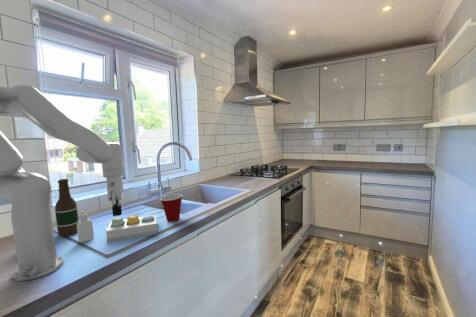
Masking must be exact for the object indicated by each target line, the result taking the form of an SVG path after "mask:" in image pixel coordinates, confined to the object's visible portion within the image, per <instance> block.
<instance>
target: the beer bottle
mask: <svg viewBox="0 0 476 317" xmlns="http://www.w3.org/2000/svg"><path fill="white" fill-rule="evenodd" d="M57 183H58V200H57V202H56V203H55V208H54V213H55V221H56V228H57V235H58V236H59V237H63V238H64V237H70V236H73V235H76V234H77V223H78V222H80V221H79V214H78V213H79V212H78V206H77V202H76V200H75V199H74V198H73V197H72V196H71V195H72V194H71V192H70V191H71V190H70V187H69V179H68V178H63V179H62V178H61V179H59V180H58V181H57Z"/></svg>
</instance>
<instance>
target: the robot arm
mask: <svg viewBox="0 0 476 317" xmlns="http://www.w3.org/2000/svg"><path fill="white" fill-rule="evenodd" d="M0 115H16V116H17V115H22V116H23V117H24V118H25V119H28V120H29V121H30V122H32V123H33V124H34V125H35V126H37V127H38V128H39V129H41V131H43V132H44V133H46V134H47V135H49V136H50V137H52V138H55V139H57V140H60V141H63V142H67V143H70V144H71V145H72V144H73V145H74V146H76V147H77V149H76V151H75V155H76V158H77V159H78V160H79V161H81V162H83V163H88V164H101V167H102V168H101V169H102V177H103V178H106V189H107V199H108V201H109V202H111V210H112V216H113V217H119V216H121V215H122V214H123V211H122V204H121V201H122V200H123V198H124V196H125V192H124V185H123V179H122V178H123V176H124V167H123V156H122V155H123V154H122V147H121V144H120V143H119V142H107V141H105V140H104V139H103V138H102V137H101V136H100V135H99V134H98V133H96V132H95V131H93V130H92V129H90V128H89V127H87V126H85V125H83V124H81V123H80V122H78V121H76V120H75V119H72V118H71V117H70V116H68V115H67V114H66V113H65V112H64V111H62V109H61V108H59V107H58V106H57V105H56V104H55V103H53V102H52V100H50V99H49V98H48V97H47V96H45V95H44V93H42V92H41V91H40V90H38V89H37V88H35V87H34V86H31V85H29V84H19V85H15V86H10V87H8V86H7V87H4V86H0ZM23 165H24V156H23V155H22V154H21V152H20V151H19V150H18V149H17V147H15V145H13V143H12V142H11V141H10V140H9V138H7V137H6V135H5V134H4V132H2V131H1V130H0V197H1V198H3V199H6V200H9V201H11V211H10V218H11V226H12V232H13V238H14V239H13V240H14V245H15V246H14V247H15V254H16V260H17V266H18V267H17V268H15V269H14V270H13V271H12V275H11V276H12V279H13V280H14V281H17V282H21V281H29V280H35V279H39V278H41V277H44V276H46V275H49V274H51V273H53V272H54V271H56V270H57V269H60V267H62V266H63V264H64V258H63V257H62V256H60V255H57V248H56V240H55V232H54V231H55V229H54V224H53V223H54V222H53V217H52V216H53V215H52V205H51V204H52V203H51V202H52V185H51V182H50V181H49V179H48V178H46V176H44V175H42V174H40V173H39V172H38V173H37V172H32V171H25V169H23V168H22V167H23Z"/></svg>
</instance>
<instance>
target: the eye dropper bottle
mask: <svg viewBox="0 0 476 317" xmlns="http://www.w3.org/2000/svg"><path fill="white" fill-rule="evenodd" d="M79 216H80V221H79V222H78V223H77V233H76V234H77V241H78V242H79V243H86V242H88V241H90V240H92V239H94V237H95V232H94V225H93V220H92V219H90V218H88V214H87V213H85V210H83V211H82V212H81V214H80V215H79Z"/></svg>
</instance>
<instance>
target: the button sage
mask: <svg viewBox="0 0 476 317" xmlns="http://www.w3.org/2000/svg"><path fill="white" fill-rule="evenodd" d="M123 219H124V217H121V216H120V217H119V216H117V217H113V218H112V219H111V221H112V227H118V226H124V222H123Z"/></svg>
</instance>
